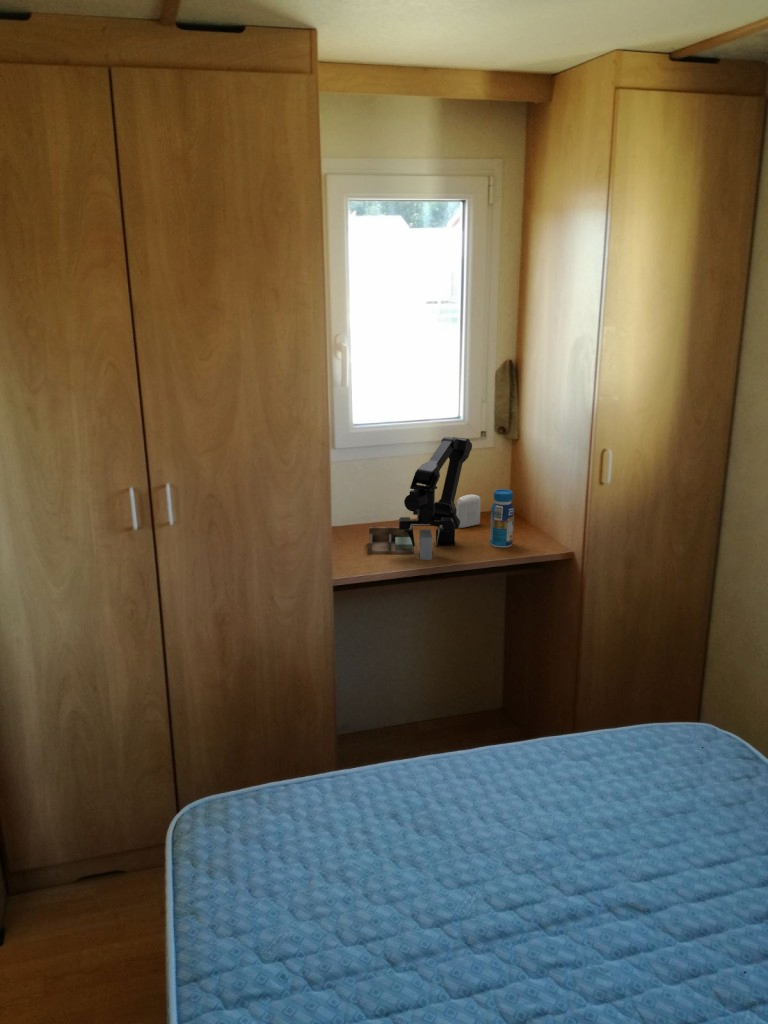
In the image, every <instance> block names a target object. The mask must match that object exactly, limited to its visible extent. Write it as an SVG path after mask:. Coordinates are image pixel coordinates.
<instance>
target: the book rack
mask: <svg viewBox="0 0 768 1024" xmlns="http://www.w3.org/2000/svg"><path fill="white" fill-rule="evenodd" d="M368 529H369V530H368V555H414V554H415V547H413V544H412V541H411V538H410V536H409V534H408V532H405V531H404V530H401V529H399V526H369V527H368Z"/></svg>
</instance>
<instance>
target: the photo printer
mask: <svg viewBox="0 0 768 1024" xmlns="http://www.w3.org/2000/svg"><path fill="white" fill-rule="evenodd" d="M481 501H482V500H481V497H480V496H479V495H478V494H477V495H476V494H466V495H463V496H460V497H459V498H457V500H456V504H455V507H456V510H457V511H456V515H457V517H458V518H459V520H460V525H459V527H458V529H461V528H467V527H473V526H477V525H480V523H481V507H482V506H481V505H482V503H481Z"/></svg>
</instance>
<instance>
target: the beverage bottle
mask: <svg viewBox="0 0 768 1024" xmlns="http://www.w3.org/2000/svg"><path fill="white" fill-rule="evenodd" d="M513 498H514V492H513V490H511V489H505V488H504V489H500V488H499V489H496V490H493V501H494V502H493V504H492V506H491V509H490V511H491V514H490V533H489V538H490V539H489V543H490V545H491V546H492V547H494V548H503V549H504V548H509V547H511V546H513V539H514V521H515V515H514V513H515V508H514V505H513V503H512V502H513Z"/></svg>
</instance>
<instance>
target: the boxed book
mask: <svg viewBox="0 0 768 1024" xmlns="http://www.w3.org/2000/svg"><path fill="white" fill-rule="evenodd" d="M432 534H433V533H432V529H431V528H430V529H429V528H428V529H427V528H426V529H422V528H421V529H419V538H418V539H419V542H418V543H419V550H418V552H419V559H420V560H421V561H424V560H425V561H426V560H427V561H428V560H430V561H431V560H433V535H432Z"/></svg>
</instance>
